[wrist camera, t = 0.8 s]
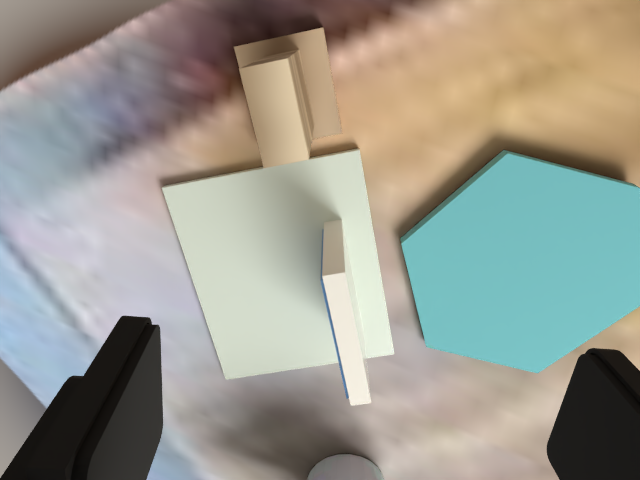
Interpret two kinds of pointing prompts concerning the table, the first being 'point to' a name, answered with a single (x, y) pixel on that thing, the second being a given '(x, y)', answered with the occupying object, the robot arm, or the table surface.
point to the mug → (345, 469)
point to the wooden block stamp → (289, 94)
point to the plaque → (525, 262)
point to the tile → (344, 312)
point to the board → (278, 260)
